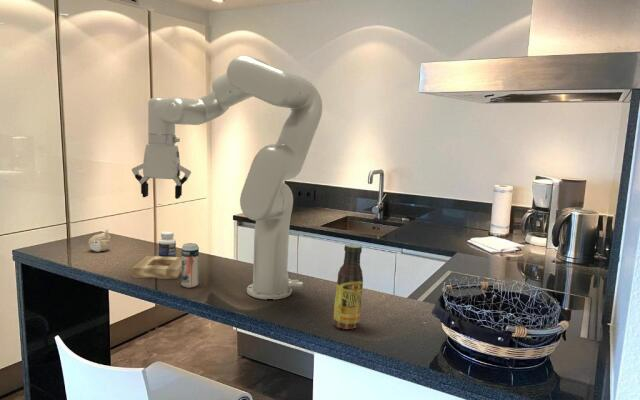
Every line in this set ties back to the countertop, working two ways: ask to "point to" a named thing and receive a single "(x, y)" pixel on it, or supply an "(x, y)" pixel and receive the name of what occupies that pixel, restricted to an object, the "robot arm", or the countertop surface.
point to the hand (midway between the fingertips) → (161, 197)
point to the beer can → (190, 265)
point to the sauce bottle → (349, 289)
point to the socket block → (158, 267)
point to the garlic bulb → (100, 242)
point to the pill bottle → (167, 245)
